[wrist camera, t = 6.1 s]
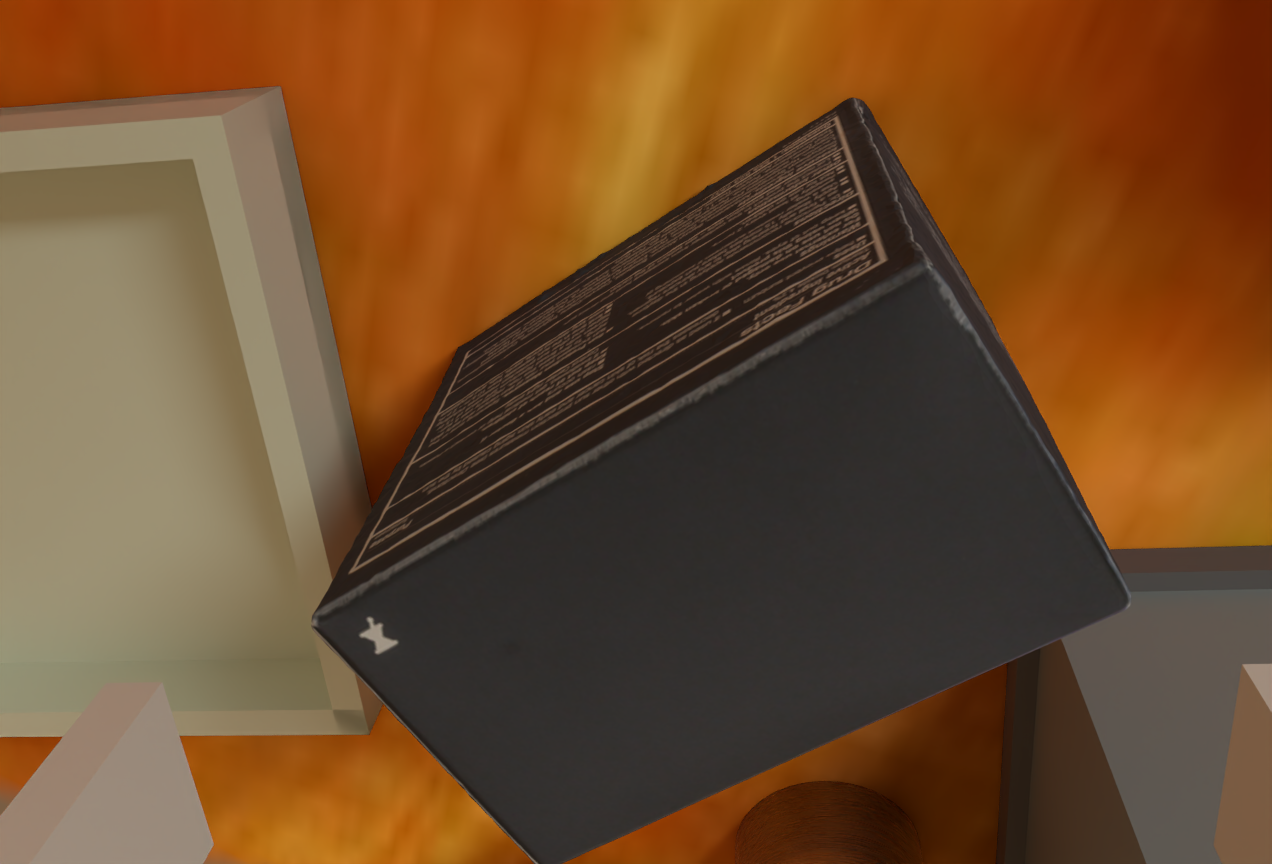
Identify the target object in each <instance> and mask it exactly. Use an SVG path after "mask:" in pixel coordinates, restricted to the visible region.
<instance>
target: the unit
mask: <svg viewBox="0 0 1272 864" xmlns="http://www.w3.org/2000/svg"><path fill="white" fill-rule="evenodd" d="M1110 552H1111V554H1112V556H1113V558H1114V560H1115V561H1116V563H1117V565H1118V567H1119V569H1120V571H1121V573H1122V575H1123V578H1124V580H1125V582H1126V584H1127V586H1128V588H1129V590H1130V593H1131V596H1132V599H1131V605H1130V606H1129V607H1128V608H1127V609H1126V610H1125V611H1123V612H1120V613H1118V614H1116V615H1114V616H1111V617H1109V618H1107V619H1105V620H1102V621H1100V622H1098V623H1096V624H1093V625H1091V626H1089V627H1087V628H1084V629H1082V630H1080V631H1078V632H1075V633H1073V634H1071V635H1068V636H1066V637H1064V638H1062V639H1059V640H1057V641H1055V642H1052V643H1050V644H1048V645H1046V646H1043V647H1041V648H1039V649H1037V650H1034V651H1032V652H1030V653H1028V654H1025V655H1023V656H1021V657H1019V658H1016V659H1014V660H1012V661H1010V662H1008V667H1007V685H1006V702H1005V719H1004V736H1003V753H1002V770H1001V787H1000V804H999V821H998V838H997V856H996V864H1222V862H1221V860H1220V858H1219V856H1218V854H1217V852H1216V850H1215V847H1214V839H1215V833H1216V827H1217V820H1218V814H1219V807H1220V801H1221V795H1222V788H1223V782H1224V776H1225V769H1226V763H1227V757H1228V750H1229V744H1230V738H1231V731H1232V725H1233V719H1234V712H1235V706H1236V700H1237V693H1238V687H1239V681H1240V674H1241V668H1242V664H1272V546H1237V547H1196V548H1156V549H1116V550H1110Z"/></svg>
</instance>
